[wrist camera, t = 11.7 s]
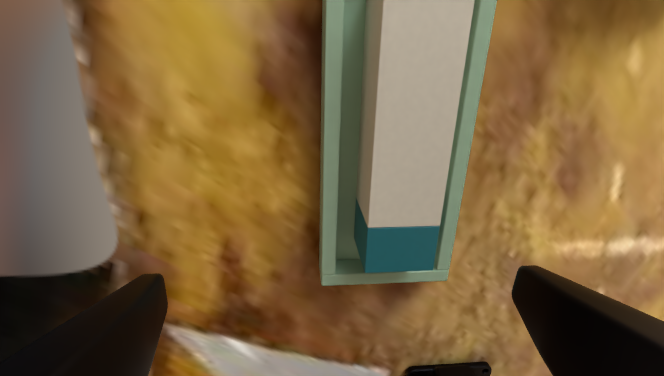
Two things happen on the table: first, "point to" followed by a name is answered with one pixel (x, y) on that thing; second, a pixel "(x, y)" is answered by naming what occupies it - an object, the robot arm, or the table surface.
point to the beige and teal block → (407, 128)
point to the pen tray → (343, 142)
